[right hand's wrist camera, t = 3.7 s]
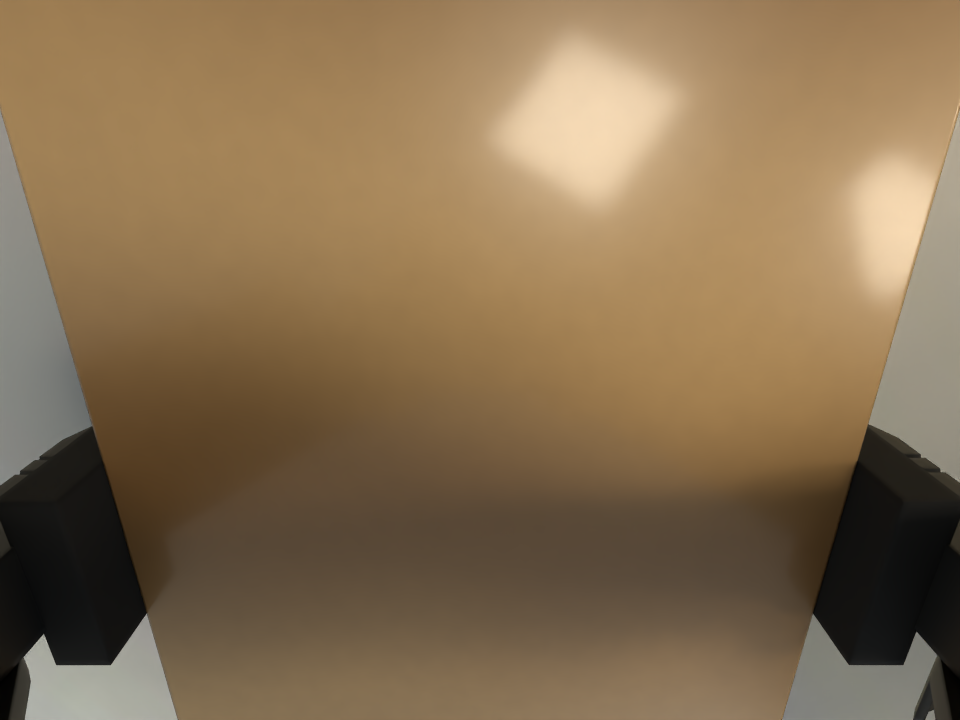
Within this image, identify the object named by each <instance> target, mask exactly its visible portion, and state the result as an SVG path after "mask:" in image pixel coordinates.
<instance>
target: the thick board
mask: <svg viewBox="0 0 960 720" xmlns="http://www.w3.org/2000/svg"><path fill="white" fill-rule="evenodd" d="M0 110H1V114H2V117H3V121H4V124H5V127H6V131H7V134H8V138H9V141H10V145H11V148H12V151H13V155H14V158H15V162H16V165H17V169H18V172H19V176H20V179H21V182H22V186H23V189H24V193H25V196H26V200H27V203H28V206H29V210H30V213H31V217H32V220H33V224H34V227H35V230H36V234H37V237H38V241H39V244H40V248H41V251H42V255H43V258H44V261H45V265H46V268H47V272H48V275H49V279H50V282H51V285H52V289H53V292H54V296H55V299H56V303H57V306H58V310H59V313H60V316H61V320H62V323H63V327H64V330H65V334H66V337H67V340H68V344H69V347H70V351H71V354H72V358H73V361H74V365H75V368H76V371H77V375H78V378H79V382H80V385H81V389H82V392H83V395H84V399H85V402H86V406H87V409H88V413H89V416H90V419H91V423H92V426H93V430H94V433H95V437H96V440H97V444H98V447H99V450H100V454H101V457H102V461H103V464H104V468H105V471H106V474H107V478H108V481H109V485H110V488H111V492H112V495H113V499H114V502H115V505H116V509H117V512H118V516H119V519H120V523H121V526H122V529H123V533H124V536H125V540H126V543H127V547H128V550H129V554H130V557H131V560H132V564H133V567H134V571H135V574H136V578H137V581H138V584H139V588H140V591H141V595H142V598H143V602H144V605H145V608H146V612H147V615H148V619H149V622H150V626H151V629H152V633H153V636H154V639H155V643H156V646H157V650H158V653H159V657H160V660H161V663H162V667H163V670H164V674H165V677H166V681H167V684H168V688H169V691H170V694H171V698H172V701H173V705H174V708H175V712H176V715H177V718H178V720H782V718H783V715H784V711H785V708H786V704H787V701H788V697H789V694H790V691H791V687H792V684H793V680H794V677H795V673H796V670H797V667H798V663H799V660H800V656H801V653H802V649H803V646H804V642H805V639H806V636H807V632H808V629H809V625H810V622H811V618H812V615H813V612H814V608H815V605H816V601H817V598H818V594H819V591H820V588H821V584H822V581H823V577H824V574H825V570H826V567H827V563H828V560H829V557H830V553H831V550H832V546H833V543H834V539H835V536H836V533H837V529H838V526H839V522H840V519H841V515H842V512H843V508H844V505H845V502H846V498H847V495H848V491H849V488H850V484H851V481H852V478H853V474H854V471H855V467H856V464H857V460H858V457H859V454H860V450H861V447H862V443H863V440H864V436H865V433H866V429H867V426H868V423H869V419H870V416H871V412H872V409H873V405H874V402H875V399H876V395H877V392H878V388H879V385H880V381H881V378H882V375H883V371H884V368H885V364H886V361H887V357H888V354H889V350H890V347H891V344H892V340H893V337H894V333H895V330H896V326H897V323H898V320H899V316H900V313H901V309H902V306H903V302H904V299H905V295H906V292H907V289H908V285H909V282H910V278H911V275H912V271H913V268H914V265H915V261H916V258H917V254H918V251H919V247H920V244H921V241H922V237H923V234H924V230H925V227H926V223H927V220H928V216H929V213H930V210H931V206H932V203H933V199H934V196H935V192H936V189H937V186H938V182H939V179H940V175H941V172H942V168H943V165H944V162H945V158H946V155H947V151H948V148H949V144H950V141H951V137H952V134H953V131H954V127H955V124H956V120H957V117H958V113H959V110H960V0H0Z"/></svg>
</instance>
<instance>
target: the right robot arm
mask: <svg viewBox="0 0 960 720" xmlns="http://www.w3.org/2000/svg"><path fill="white" fill-rule="evenodd" d="M146 614H147V612H146V608H145V605H144V602H143V598H142V595H141V591H140V588H139V584H138V581H137V578H136V574H135V571H134V567H133V564H132V560H131V557H130V554H129V550H128V547H127V543H126V540H125V536H124V533H123V529H122V526H121V523H120V519H119V516H118V512H117V509H116V505H115V502H114V499H113V495H112V492H111V488H110V485H109V481H108V478H107V474H106V471H105V468H104V464H103V461H102V457H101V454H100V450H99V447H98V444H97V440H96V437H95V433H94V430H93V426H91V427H89V428H87V429H85V430H83V431H81V432H79V433H76V434H74V435H72V436H70V437H68V438H66V439H63V440H62V441H60V442H59V443H58V444H56V445H55V446H54V447H52V448H51V449H50V450H48V451H47V452H45V453H44V454H43V455H41V456H40V459H39V460H35V461H33V462H32V463H30V464H29V465H28V466H26V467H25V468H24V469H22V470H21V471H20V475H14V476H13V477H11V478H10V479H9V480H7V481H6V482H5V483H3V484H2V485H1V486H0V720H25V714H26V708H27V702H28V696H29V689H30V683H31V680H30V675H29V669H28V667H27V665H26V662H25V660H24V656H25V655H26V654H27V652H28V651H29V650H30V649H31V648H32V647H33V646H34V644H35V643H36V642H37V641H38V640H39V639H40V637H41V636H42V635H43V634H44V635H45V637H46V640H47V642H48V645H49V648H50V650H51V653H52V655H53V658H54V660H55V663H56V665H111V664H112V663H113V661H114V660H115V658H116V657H117V655H118V654H119V652H120V651H121V650H122V648H123V647H124V645H125V644H126V642H127V641H128V640H129V638H130V637H131V635H132V634H133V632H134V631H135V629H136V628H137V627H138V625H139V624H140V622H141V621H142V619H143V618H144V616H145V615H146ZM813 614H814V615H815V617H816V618H817V620H818V621H819V623H820V624H821V626H822V627H823V628H824V630H825V631H826V633H827V634H828V636H829V637H830V638H831V640H832V641H833V643H834V644H835V646H836V647H837V649H838V650H839V651H840V653H841V654H842V656H843V657H844V659H845V660H846V662H847V663H848V664H849V665H904V662H905V659H906V657H907V654H908V652H909V649H910V647H911V644H912V641H913V639H914V636H915V634H916V631H917V632H918V633H919V635H920V636H921V637H922V638H923V639H924V640H925V641H926V643H927V644H928V645H929V646H930V647H931V648H932V649H933V651H934V652H935V653H936V654H937V657H936V660H935V662H934V665H933V667H932V669H931V672H930V674H929V677H928V679H927V681H926V684H925V686H924V689H923V691H922V693H921V696H920V698H919V701H918V703H917V705H916V708H915V712H914V718H913V720H925V719H926V716H927V714H928V712H929V711H932V710H934V712H935V718H936V720H960V483H959V482H958V481H956V480H955V479H954V478H952V477H951V476H950V475H948V474H947V473H945V472H940V468H939V467H937V466H936V465H934V464H933V463H932V462H930V461H929V460H928V459H926V458H921V454H919V453H918V452H917V451H915V450H914V449H912V448H911V447H910V446H908V445H907V444H906V443H904V442H903V441H901V440H900V439H899V438H897V437H895V436H893V435H891V434H888V433H886V432H884V431H882V430H880V429H878V428H875V427H873V426H871V425H869V424H868V426H867V429H866V433H865V436H864V440H863V443H862V447H861V450H860V454H859V457H858V460H857V464H856V467H855V471H854V474H853V478H852V481H851V484H850V488H849V491H848V495H847V498H846V502H845V505H844V508H843V512H842V515H841V519H840V522H839V526H838V529H837V533H836V536H835V539H834V543H833V546H832V550H831V553H830V557H829V560H828V563H827V567H826V570H825V574H824V577H823V581H822V584H821V588H820V591H819V594H818V598H817V601H816V605H815V608H814V612H813Z"/></svg>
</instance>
